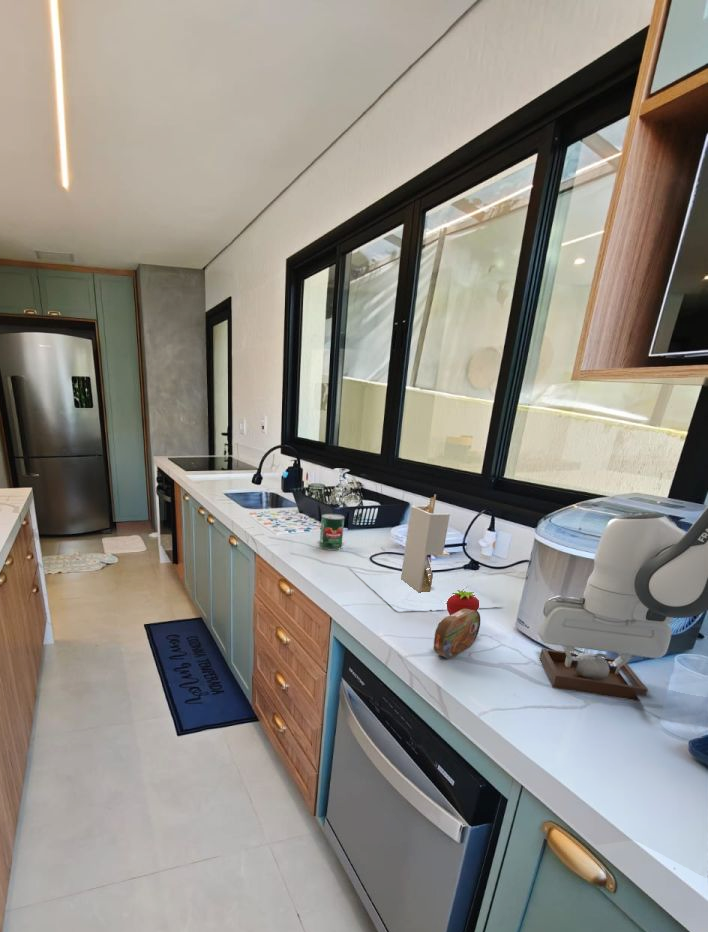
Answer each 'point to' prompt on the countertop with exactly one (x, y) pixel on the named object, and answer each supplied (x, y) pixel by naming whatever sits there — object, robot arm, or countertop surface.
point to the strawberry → (462, 602)
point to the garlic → (592, 666)
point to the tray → (572, 681)
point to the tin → (456, 633)
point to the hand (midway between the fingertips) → (590, 669)
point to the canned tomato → (331, 531)
